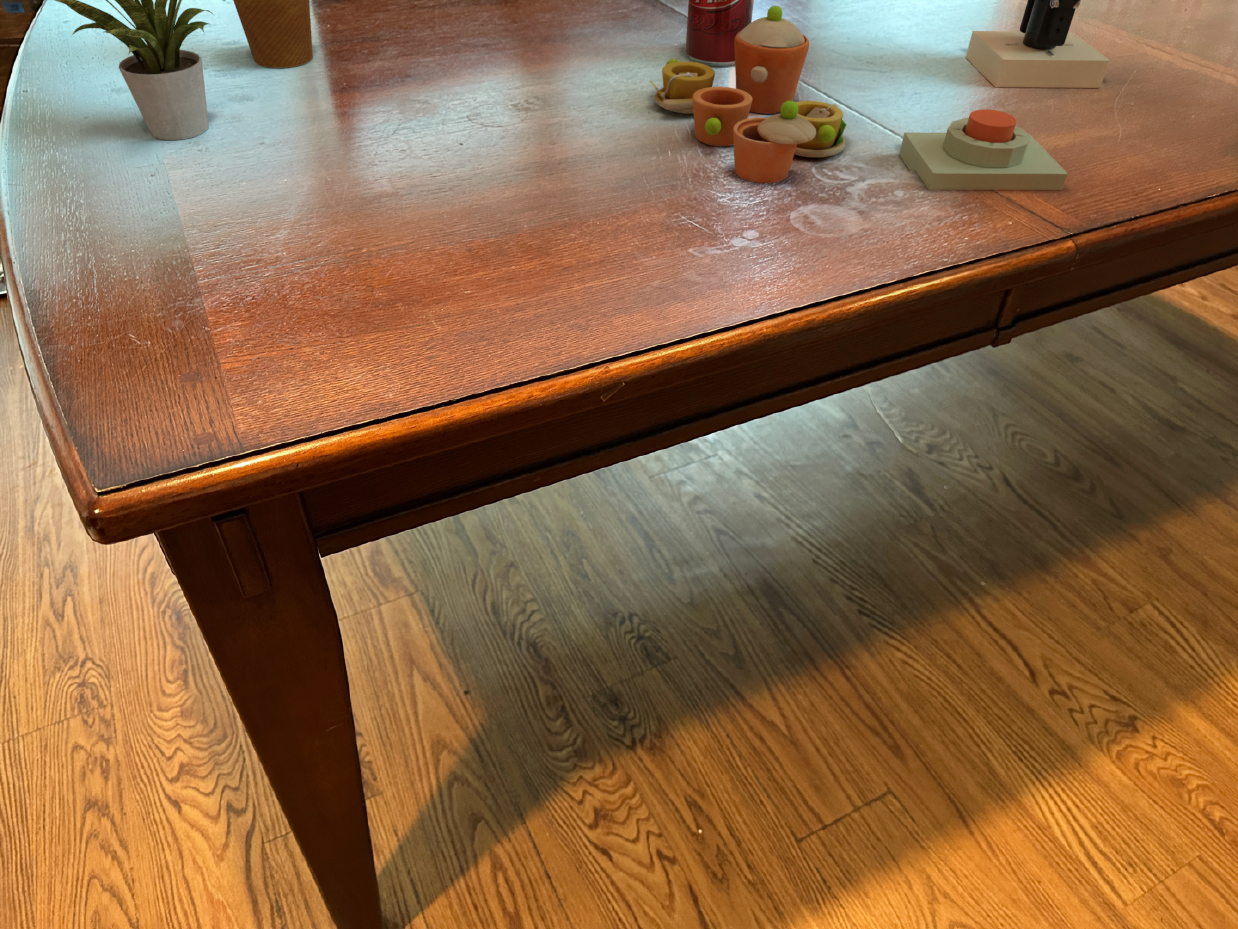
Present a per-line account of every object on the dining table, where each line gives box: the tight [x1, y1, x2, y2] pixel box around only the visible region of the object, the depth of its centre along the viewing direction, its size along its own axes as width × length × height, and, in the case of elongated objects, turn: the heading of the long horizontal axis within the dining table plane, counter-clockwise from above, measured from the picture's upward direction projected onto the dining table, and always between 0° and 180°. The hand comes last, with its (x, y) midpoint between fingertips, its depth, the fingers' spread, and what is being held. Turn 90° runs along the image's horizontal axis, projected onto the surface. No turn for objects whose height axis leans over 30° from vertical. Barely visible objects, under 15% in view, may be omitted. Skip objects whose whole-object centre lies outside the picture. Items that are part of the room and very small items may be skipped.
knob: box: [1023, 0, 1056, 50], centre depth 104 cm, size 4×4×5 cm
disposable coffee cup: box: [232, 0, 314, 69], centre depth 100 cm, size 10×10×12 cm
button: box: [965, 108, 1018, 143], centre depth 82 cm, size 4×4×2 cm
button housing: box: [898, 117, 1068, 191], centre depth 84 cm, size 12×9×4 cm
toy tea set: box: [649, 5, 848, 184], centre depth 88 cm, size 26×16×10 cm, turn 17°
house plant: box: [54, 0, 214, 141], centre depth 84 cm, size 14×14×16 cm
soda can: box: [684, 0, 755, 67], centre depth 104 cm, size 7×7×12 cm
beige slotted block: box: [965, 30, 1111, 89], centre depth 106 cm, size 12×10×3 cm
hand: (1041, 36), depth 105 cm, fingers closed on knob, 3 cm apart
